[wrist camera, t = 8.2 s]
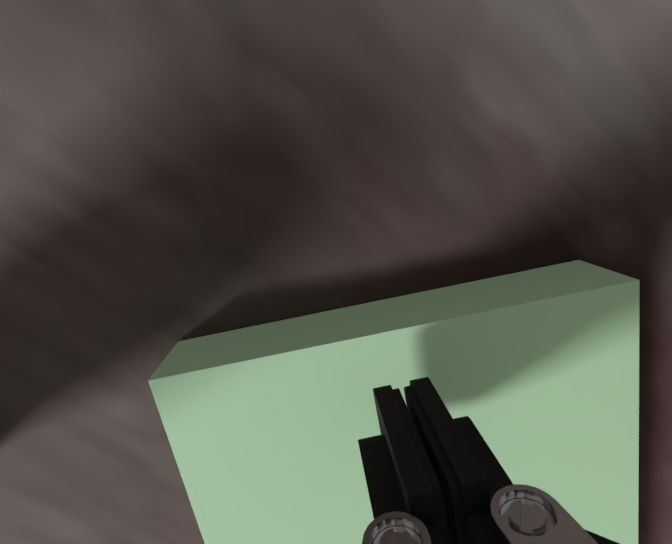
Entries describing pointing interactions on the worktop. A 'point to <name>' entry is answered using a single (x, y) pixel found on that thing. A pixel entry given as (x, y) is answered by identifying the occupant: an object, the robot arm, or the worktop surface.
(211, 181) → the worktop surface
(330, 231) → the worktop surface
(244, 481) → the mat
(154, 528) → the worktop surface
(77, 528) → the worktop surface
